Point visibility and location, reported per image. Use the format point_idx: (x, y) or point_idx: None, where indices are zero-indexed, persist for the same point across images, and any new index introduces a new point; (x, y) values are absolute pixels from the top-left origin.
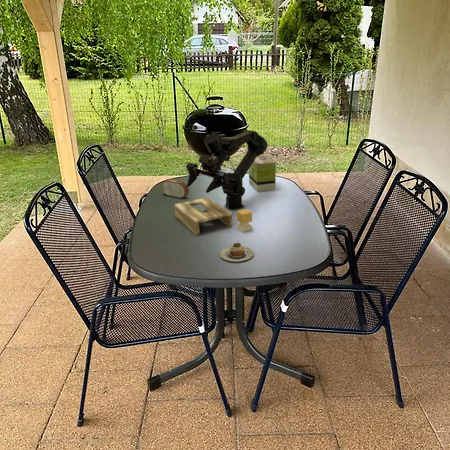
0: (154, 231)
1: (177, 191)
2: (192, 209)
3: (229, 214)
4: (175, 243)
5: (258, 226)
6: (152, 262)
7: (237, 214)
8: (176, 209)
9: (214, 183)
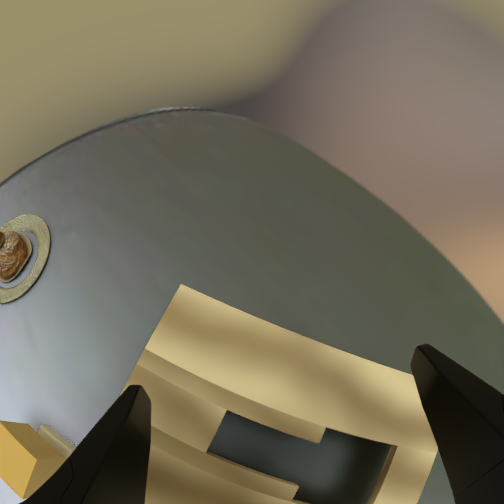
0: (363, 248)
1: None
2: (324, 408)
3: None
4: (219, 217)
5: None
6: (199, 127)
7: (41, 454)
8: None
9: (53, 489)
